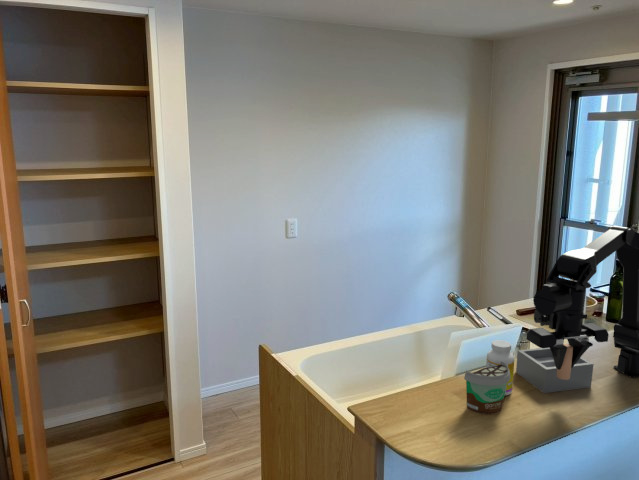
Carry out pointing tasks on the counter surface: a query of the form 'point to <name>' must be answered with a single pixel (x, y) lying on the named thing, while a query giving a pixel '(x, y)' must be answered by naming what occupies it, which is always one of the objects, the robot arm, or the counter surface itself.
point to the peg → (566, 364)
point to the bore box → (551, 371)
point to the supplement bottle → (502, 359)
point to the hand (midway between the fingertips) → (564, 368)
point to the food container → (487, 389)
